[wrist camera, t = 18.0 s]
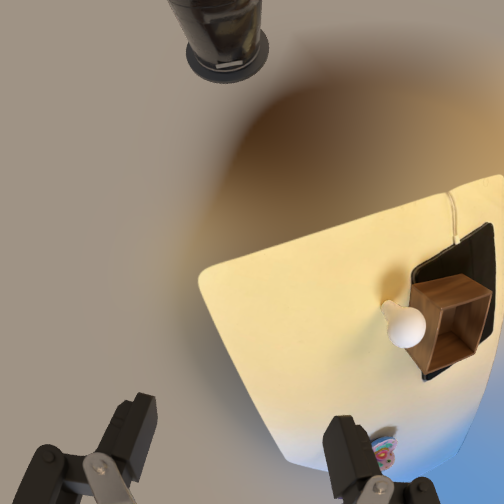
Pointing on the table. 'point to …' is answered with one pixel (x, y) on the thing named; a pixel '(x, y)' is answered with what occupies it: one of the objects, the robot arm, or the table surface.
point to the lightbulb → (403, 324)
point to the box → (448, 320)
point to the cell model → (384, 451)
